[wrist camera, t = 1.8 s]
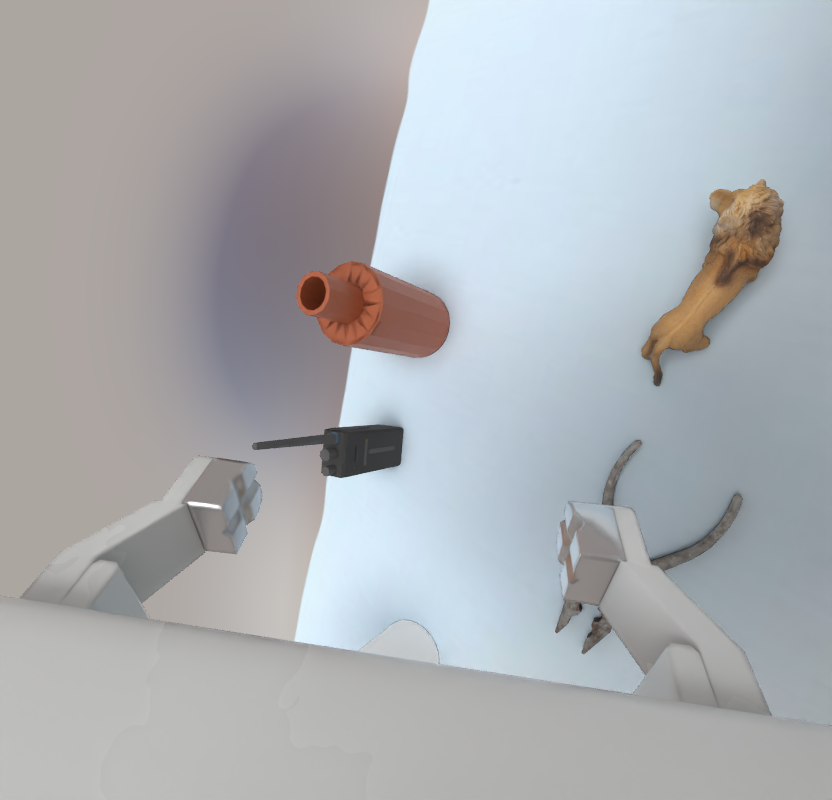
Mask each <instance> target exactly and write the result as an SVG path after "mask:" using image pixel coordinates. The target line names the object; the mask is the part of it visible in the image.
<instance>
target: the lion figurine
mask: <svg viewBox="0 0 832 800" xmlns="http://www.w3.org/2000/svg"><path fill="white" fill-rule="evenodd" d="M783 205H784V201H783V200H782V199H780V198H779V196H778V193H777V192H776V191H775V190H772V189H770V188H769V187H766V181H765V180H764V179H761V180H760V181H759V182H758V183H757V184H756V185H752V186H751V187H750V188H749V189H746V190H745V189H738V190H736V191H733V192H731V191H729V190H723V189H718V190H716V191H714V192H713V193H711V195H710V207H711V208H712V209H713V210H715V211H716V212H718V215H719V219H718V221H717V223H716V225H715V226H714V228H713V234H714V237H713V239H712V241H711V243H710V252H709V253H708V254H707V256H706V257H705V262H704V263H703V269H702V270H701V271H700V272H699V274H698V275H697V276H696V277H695V278H694V280H693V281H692V283H691V285H690V287H689V288H688V290H687V292H686V294H685V296H684V298H683V300H682V302H681V304H680V305H679V306H678V307H676V308H675V309H673V310H671V311H670V312H668V313H666V314H664V315H663V316H662V317H661V318H660V320H659V321H658V322H657V323H656V324H655V325H654V326H653V327H652V329H651V334H650V336H649V339H648V341H647V342H646V344H645V345H644V346H643V348H642V351H641V352H642V356H643V357H644V358H645V359H650V358H651V363H652V366H653V369H654V372H655V374H654V377H653V378H654V384H655V386H659V385H660V383H661V379H662V372H661V368H660V365H659V357H660V355H661V353H662V352H663V351H664V350H665V349H668V348H671V349H673V350H683V352H685V353H688V352H691V351H695V350H702V349H704V348H706V347H708V346H709V344H710V339H709V338H708V337H707V336H705V335H703V331H702V330H703V328H704V326H705V324H706V323H707V322H708V321H709V320H710V319H711V318H713V317H714V316H716V315H717V314H718V313H719V312H721V311H722V310H723V309H724V307H725V306H726V305H728V304H729V303H730V302H731V301H732V300H733V299H734V298H735V297H736V296H737V294H738V293H739V292H740V291H741V289H742V288H743V286H744V285H745V283H749V282H751V281H753V280H755V279H756V278H757V274H758V272H759V270H760V269H761V268H763V267H764V266H766V265H767V264H768V263H769V262H770V260H771V259H772V257H773V256H774V252H775V248H776V247H777V246H778V244H779V241H780V240H779V236H780V232H781V230H782V227H781V216H782V214H783Z"/></svg>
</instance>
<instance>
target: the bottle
mask: <svg viewBox="0 0 832 800" xmlns="http://www.w3.org/2000/svg"><path fill="white" fill-rule="evenodd" d="M296 299H297V302H298V305H299V308H300V309H301V310H302V311H303V312H304V313H305V314H307V315H311V316H315V317H317V319H318V322H319V324H320V327H321V329H322V331H323V333H324V334H325V335H326V336H327V337H328V338H329V339H330V340H331V341H332V342H334V343H337V344H340V345H343V346H348V347H354V348H360V349H366V350H372V351H378V352H384V353H390V354H396V355H402V356H408V357H425V356H428V355H431V354H432V353H434V352H435V351H437V350H438V349H439V348H440V347H441V345H442V344H443V343H444V341H445V339H446V337H447V334H448V331H449V314H448V311H447V308H446V306H445V305H444V303H443V302H442V301H441V300H440V299H439V298H438V297H437V296H435V295H433V294H432V293H430V292H428V291H425V290H423V289H421V288H419V287H416V286H414V285H412V284H409V283H407V282H405V281H403V280H400V279H398V278H396V277H393V276H391V275H389V274H387V273H384V272H382V271H380V270H377V269H375V268H373V267H371V266H368V265H366V264H363V263H358V262H353V261H352V262H348V263H345V264H341V265H339V266H337V267H336V268H335V269H334V270H333V271H331V272H330V273H329V274H328V275H327V274H325V273H322V272H313V271H312V272H310V273H309V274H307V275H305V276H304V277H303V278H302V280H301V282H300V284H299V285H298V288H297V296H296Z"/></svg>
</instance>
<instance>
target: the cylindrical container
mask: <svg viewBox="0 0 832 800" xmlns="http://www.w3.org/2000/svg"><path fill="white" fill-rule="evenodd" d="M358 651H359V652H365V653H372V654H378V655H385V656H391V657H397V658H404V659H410V660H417V661H423V662H429V663H436V664H439V655H438V650H437V647H436V644H435V642H434V640H433V639H432V637H431V636H430V634H429V633H428V632H427V631H426V630H425V629H424V628H423V627H422V626H420V625H419V624H417V623H415V622H413V621H409V620H400V621H397V622H395V623H393V624H392V625H391V626H389V627H388V628H387V629H386V630H384V631H383V632H382V633H380V634H379V635H378V636H376V637H375V638H374V639H373V640H371V641H370V642H369V643H367V644H366V645H365V646H364V647H362V648H361V649H360V650H358Z"/></svg>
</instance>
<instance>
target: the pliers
mask: <svg viewBox="0 0 832 800" xmlns="http://www.w3.org/2000/svg"><path fill="white" fill-rule="evenodd" d="M640 445H641V440H636V441H635V442H634V443H633V444H631V445H630V446H629V447H628V448H627V450H626V451H625V452H624V453H623V454H622V455H621V457H620V458H619V460H618V461H617V462H616V464H615V466H614V468H613V470H612V471H611V473H610V476H609V478H608V480H607V483H606V486H605V490H604V493H603V501H602V505H609V506H613V493H614V488H615V484H616V481H617V479H618V476H619V474H620V472H621V470H622V468H623V466H624V465H625V463H626V462H627V461H628V459H629V458H630V456H631V455H632V454H633V453H634V452H635V451H636V450H637V449H638V448H639V447H640ZM742 499H743V498H742V496H741V495H740V494H737V495H735V496H734V498H733V500H732V502H731V504H730V506H729V508H728V510H727V512H726V514H725V516H724V517H723V519H722V520H721V522H720V523H719V524H718V525H717V526H716V528H715V529H714V530H713V531H712V532H711V533H710V534H709V535H707V536H706V537H705V538H704V539H703V540H701V541H700V542H698V543H696V544H695V545H693V546H691V547H689V548H686V549H684V550H681V551H679V552H676V553H673V554H670V555H667V556H664V557H662V558H658V559H655V560H652V561H651V565H654V566H658V567H659V568H660V569H662V570H663V571H664V570H667V569H669V568H672V567H674V566H677V565H679V564H682V563H684V562H687V561H689V560H691V559H693V558H695V557H697V556H699V555H701V554H702V553H704V552H705V551H706V550H708V549H709V548H711V547H712V546H713V545H714V544H715V543H716V542H717V541H718V540H719V539H720V538H721V537H722V536H723V534H724V533H725V532H726V531H727V530H728V528H729V527H730V525H731V524H732V522H733V521H734V519H735V517H736V515H737V513H738V511H739V509H740V506H741V503H742ZM581 610H582V607H581V605H580V603H578V602H572V601H565V604H564V607H563V610H562V613H561V615H560V618H559V621H558V624H557V627H556V630H555V632H556V633H558V632H559V631H560V630H561V629H563V628H564V627H565V626H566V625H567V624H568V622H569V620H570V617H571V616H573V615H578V614H579V613H580V612H581ZM598 610H599V611H600V609H599V608H598ZM600 612H601V611H600ZM601 613H602V612H601ZM611 629H612V627H611V625H610V624H609V622H608V621H607V620H606V618H605V617H604V615H603V614H602V617H601V618H594V620H593V623H592V630H593V631H592V632H591V633H589V634H588V637H587V639H586V642H585V645H584V647H583V650H582V654H585V653H586V652H587V651H588V650H590V649H591V648H592V647H593V646H594V645H595V644H597V643H598V642H599V641H600V640H601V639H603V638H604V637H605V636H606V635H607V634H608V633H610V631H611Z"/></svg>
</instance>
